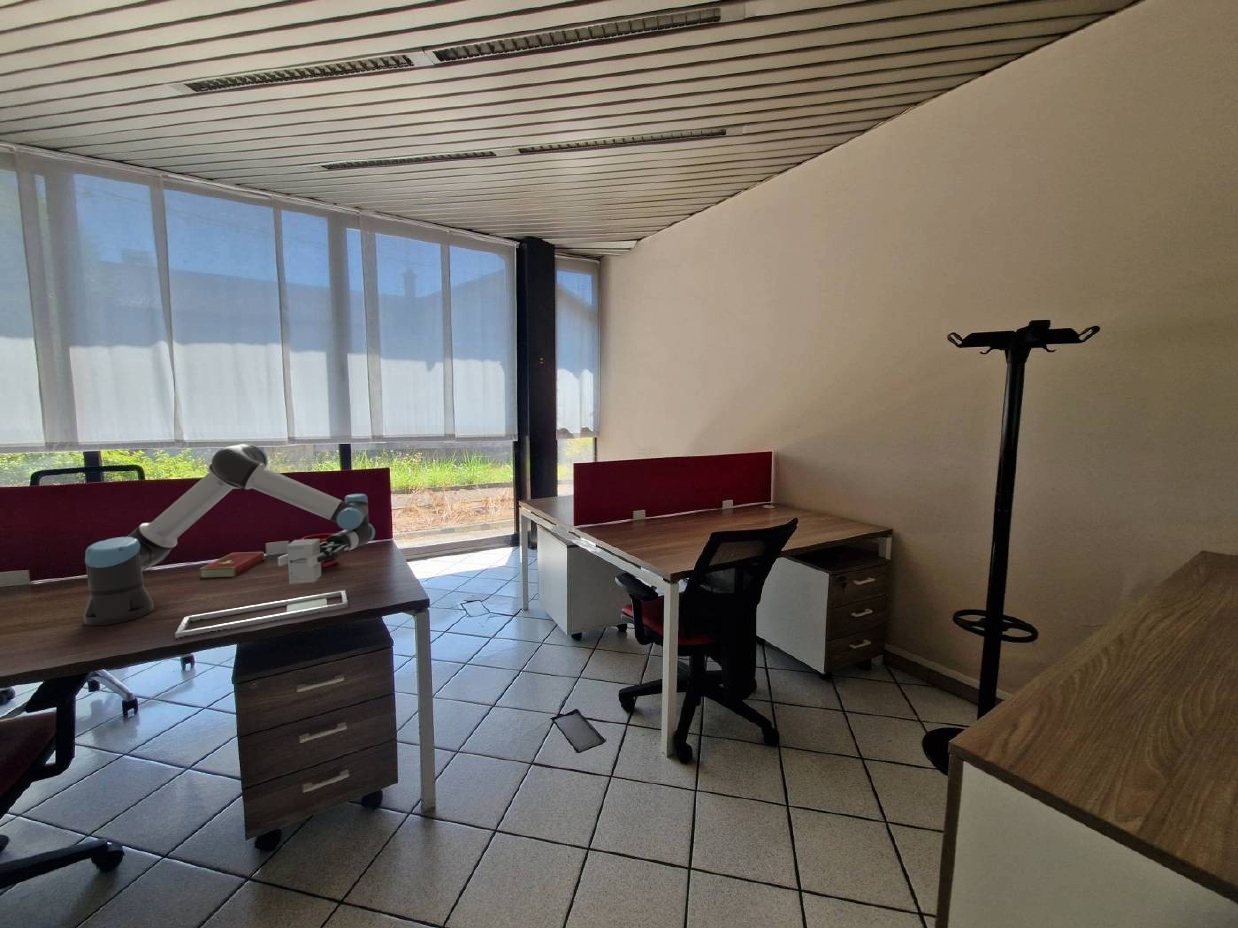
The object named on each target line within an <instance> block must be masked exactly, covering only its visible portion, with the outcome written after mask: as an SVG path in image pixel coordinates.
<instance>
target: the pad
mask: <svg viewBox="0 0 1238 928" xmlns="http://www.w3.org/2000/svg"><path fill="white" fill-rule="evenodd" d="M327 601H328V600H327V599H326V598H323V599H317V600H311V601H305V602H299V603H294V604H288V605H286V612H285V613H288V612H293V611H299V610H305V609H310V608H316V607H322V606H327V605H328V603H327Z"/></svg>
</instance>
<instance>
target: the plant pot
mask: <svg viewBox="0 0 1238 928" xmlns="http://www.w3.org/2000/svg"><path fill="white" fill-rule="evenodd" d="M333 534H334V533H318V534H317V533H316V534H312V535H307V536H304V537H302V538H301V539H300V540H305V539H320V543H322V542H325V541H326V539H327V538H328V537H329V536H331V535H333ZM338 559H339V558H337V559H336V560H332V559H330V560H324V561H323V562H321V568H325V567H330V566H332V565H334V564H336V563H337V562H338Z"/></svg>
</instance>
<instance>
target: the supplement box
mask: <svg viewBox="0 0 1238 928" xmlns="http://www.w3.org/2000/svg"><path fill="white" fill-rule="evenodd" d="M286 552H287V553H286V554H287V555H288V563H287V567H288V581H289V582H288V584H289V585H292V584H305V583H306V584H307V583H315V582H316V581H317V580H319V578H320V577H321V576H322V567H321V563H318V564H316V565H314V566H312V567H308V564H307V559H308V558H310V557H313V556H315V555H317V554H320V539H305V540H301V539H294V540H293V541H292V542H290V543H288V544H287V545H286Z"/></svg>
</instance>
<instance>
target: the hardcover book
mask: <svg viewBox="0 0 1238 928" xmlns="http://www.w3.org/2000/svg"><path fill="white" fill-rule="evenodd" d="M262 560H263V561H264V560H265V553H264V552H263V551H248V552H245V551H244V552H231V553H229V554H227V555H225V556H223V557H220V558H219V559H217V560H215V561H213V562H210V563H209V564H207V565H204V566H202V567H200V568H199V569H198V570H199V571H200V575H201V579H204V578H222V577H228V578H229V577H232V578H233V577H237V576H238V575H240V574H241V573H243V572H245V571H247V570H248V568H249V569H250V568H252V567H254V566H256V565H257V564H259V563H261V562H262Z"/></svg>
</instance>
